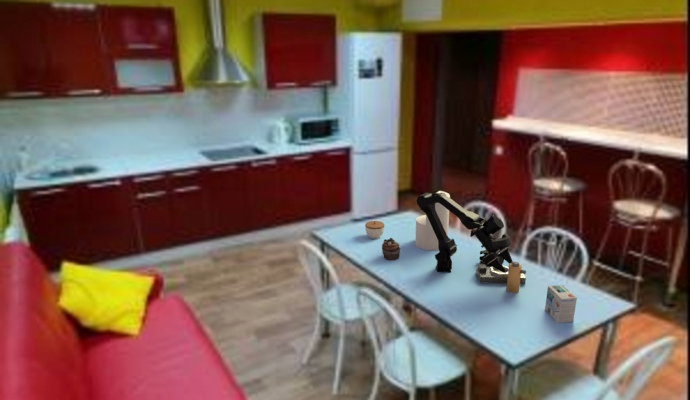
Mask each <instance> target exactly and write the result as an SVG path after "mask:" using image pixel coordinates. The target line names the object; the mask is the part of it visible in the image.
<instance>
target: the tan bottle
mask: <svg viewBox="0 0 690 400" xmlns="http://www.w3.org/2000/svg"><path fill="white" fill-rule="evenodd" d="M508 267H509V270H508V280H507V283H506V291H507V292H509V293H511V294H517V293H519V292H520V286H521V284H520V277H521V273H522V274H524V275H526V273H527V270H524V269H522V264H520V262H518V261H513V262H512V263H510V264H509V263H508Z"/></svg>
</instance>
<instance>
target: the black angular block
mask: <svg viewBox="0 0 690 400" xmlns="http://www.w3.org/2000/svg"><path fill="white" fill-rule="evenodd" d="M487 253H488V251H487V250H486V249H485V250H480V252H479V255H481V256H479V264H484V263H483V262H482V260H483V258H484V257H485V256H487ZM498 254H499V253H498ZM497 257H499V261H500V262H501V264H502V265H503V264H504V262H505V260H504V259H503V258H502V257H500V256H499V255H498V256H497ZM487 264H488V263H487ZM487 264H486V265H485V266H486V267H492V266H490V265H487Z"/></svg>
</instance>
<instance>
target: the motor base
mask: <svg viewBox="0 0 690 400" xmlns="http://www.w3.org/2000/svg"><path fill="white" fill-rule="evenodd" d="M477 265H478V266H476V269H475V270H476V272H475V273H476V276H477V279H478V280H479V283H480V284H507V280H508V270H509V266H506V265H503V264H502V266H503V267H504V269H505V271H506V272H504V273H503V272H502V271H500V270H498V269H496V268H494V267H487V266H485V264H482V263H478V264H477ZM526 278H527V277H526V275H525V274H522V273H521V277H520V285H525V284H526Z"/></svg>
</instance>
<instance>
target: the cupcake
mask: <svg viewBox="0 0 690 400" xmlns="http://www.w3.org/2000/svg"><path fill="white" fill-rule="evenodd" d="M401 250H402V249H401V247H400V244H399V243H398V242H396V240H395V239H393V238H392V237H390V238H389V239H388V238H387V239H384V240H383V242H382V244H381V251H382V255H383V259H384V260H387V261H396V260H399V259H400V254H401Z"/></svg>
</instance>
